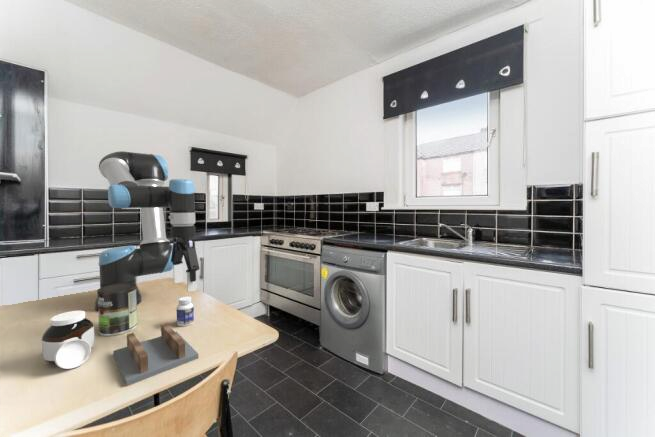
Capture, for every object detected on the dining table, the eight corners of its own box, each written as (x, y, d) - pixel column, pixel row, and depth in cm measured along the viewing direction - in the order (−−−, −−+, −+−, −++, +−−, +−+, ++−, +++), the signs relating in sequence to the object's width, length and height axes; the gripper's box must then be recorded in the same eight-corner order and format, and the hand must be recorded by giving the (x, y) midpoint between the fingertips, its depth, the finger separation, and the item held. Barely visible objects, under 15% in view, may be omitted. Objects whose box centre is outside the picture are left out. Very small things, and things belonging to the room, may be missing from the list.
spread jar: (76, 346, 80) (74, 307, 79) (111, 349, 79) (110, 309, 78) (27, 371, 68) (24, 326, 67) (68, 375, 67) (65, 329, 66)
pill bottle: (186, 327, 93) (186, 301, 92) (173, 325, 94) (172, 300, 93) (197, 320, 98) (196, 296, 97) (184, 319, 99) (183, 295, 98)
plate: (113, 355, 76) (113, 350, 76) (176, 335, 87) (176, 331, 87) (126, 386, 63) (126, 381, 63) (198, 358, 75) (198, 353, 75)
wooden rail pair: (127, 348, 77) (126, 334, 77) (166, 335, 84) (166, 323, 84) (140, 373, 66) (140, 357, 66) (185, 356, 73) (184, 342, 73)
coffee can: (112, 338, 85) (110, 294, 84) (91, 333, 88) (89, 290, 87) (145, 324, 94) (143, 284, 93) (124, 320, 98) (123, 281, 97)
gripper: (159, 223, 99) (162, 281, 101) (184, 228, 82) (186, 297, 83) (182, 222, 105) (183, 277, 106) (209, 226, 87) (210, 291, 89)
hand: (184, 286), depth 95 cm, fingers open, 13 cm apart
